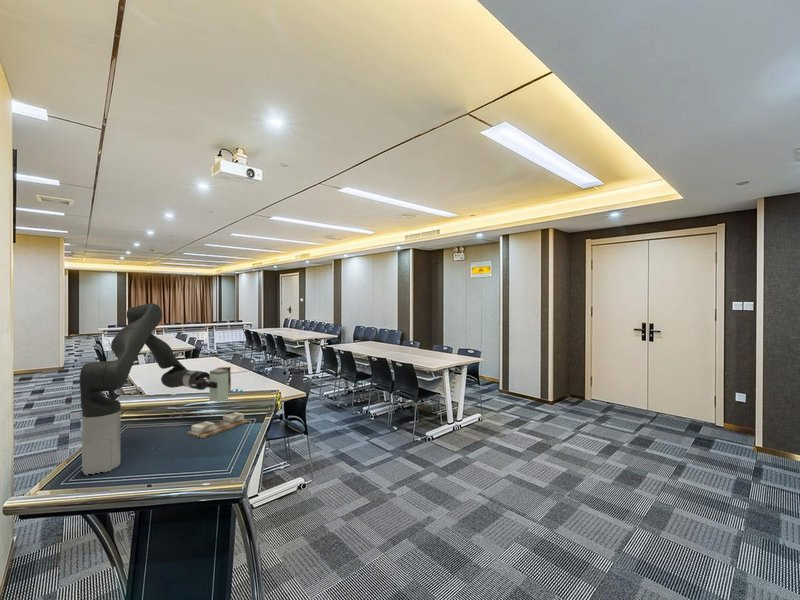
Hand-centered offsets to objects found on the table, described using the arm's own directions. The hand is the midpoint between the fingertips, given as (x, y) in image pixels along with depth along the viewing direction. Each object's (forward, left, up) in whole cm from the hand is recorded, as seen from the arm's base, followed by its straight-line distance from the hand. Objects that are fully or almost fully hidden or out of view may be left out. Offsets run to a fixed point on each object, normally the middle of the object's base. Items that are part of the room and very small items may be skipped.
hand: (222, 384), depth 145 cm
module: (+2, +1, -7) cm, 7 cm away
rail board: (+1, +1, -18) cm, 18 cm away
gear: (+35, -8, -19) cm, 41 cm away
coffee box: (+54, -1, -19) cm, 58 cm away
